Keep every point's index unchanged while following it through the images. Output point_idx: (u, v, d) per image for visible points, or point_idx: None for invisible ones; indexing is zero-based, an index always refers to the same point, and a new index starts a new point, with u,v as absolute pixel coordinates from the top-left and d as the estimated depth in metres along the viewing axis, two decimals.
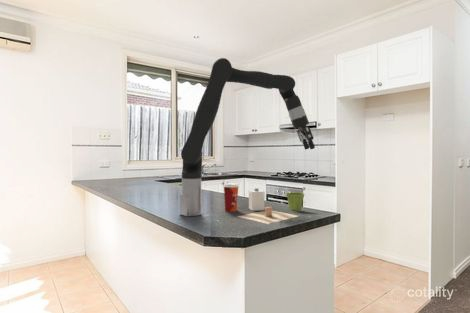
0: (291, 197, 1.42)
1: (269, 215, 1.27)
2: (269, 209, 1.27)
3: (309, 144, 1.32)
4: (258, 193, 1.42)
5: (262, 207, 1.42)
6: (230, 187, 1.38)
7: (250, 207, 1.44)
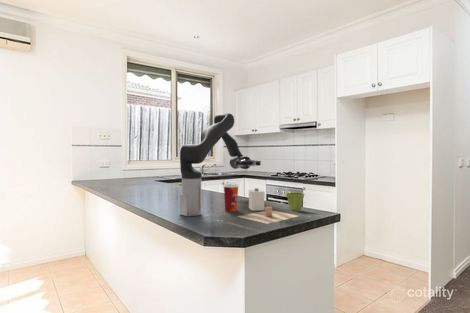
0: (291, 197, 1.42)
1: (269, 215, 1.27)
2: (269, 209, 1.27)
3: (257, 161, 1.59)
4: (258, 193, 1.42)
5: (262, 207, 1.42)
6: (230, 187, 1.38)
7: (250, 207, 1.44)
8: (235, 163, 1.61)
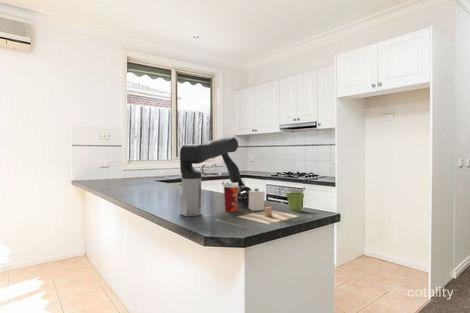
0: (291, 197, 1.42)
1: (269, 215, 1.27)
2: (269, 209, 1.27)
3: None
4: (258, 193, 1.42)
5: (262, 207, 1.42)
6: (230, 187, 1.38)
7: (250, 207, 1.44)
8: None
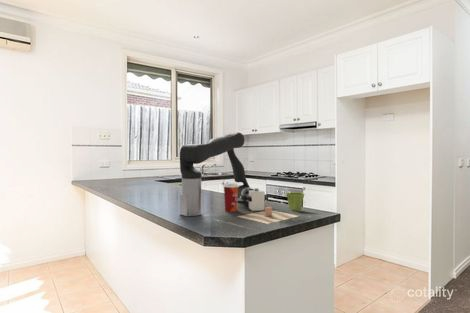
0: (291, 197, 1.42)
1: (269, 215, 1.27)
2: (269, 209, 1.27)
3: None
4: (258, 193, 1.42)
5: (262, 207, 1.42)
6: (230, 187, 1.38)
7: (250, 207, 1.44)
8: (241, 198, 1.48)
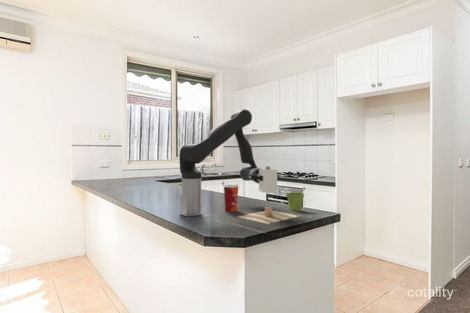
0: (291, 197, 1.42)
1: (269, 215, 1.27)
2: (269, 209, 1.27)
3: None
4: (270, 171, 1.26)
5: (274, 187, 1.27)
6: (230, 187, 1.38)
7: (261, 187, 1.29)
8: (251, 177, 1.33)
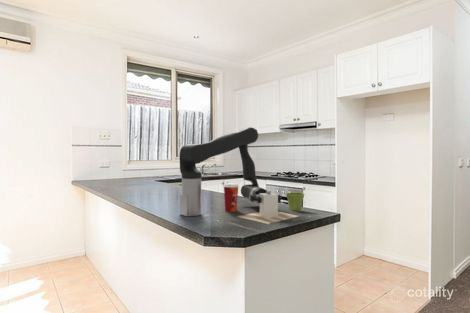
0: (291, 197, 1.42)
1: None
2: None
3: None
4: (271, 196, 1.25)
5: (275, 212, 1.26)
6: (230, 187, 1.38)
7: (261, 212, 1.28)
8: (250, 198, 1.32)
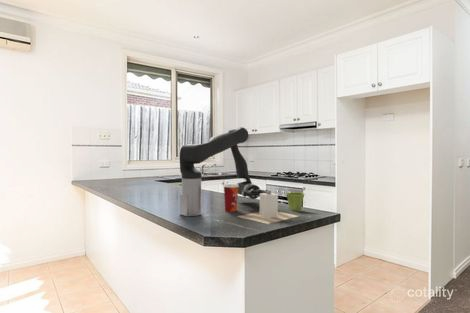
0: (291, 197, 1.42)
1: None
2: None
3: None
4: (271, 196, 1.25)
5: (275, 212, 1.26)
6: (230, 187, 1.38)
7: (261, 212, 1.28)
8: (243, 193, 1.45)
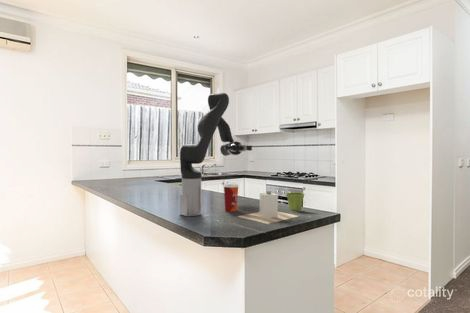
0: (291, 197, 1.42)
1: None
2: None
3: (248, 146, 1.49)
4: (271, 196, 1.25)
5: (275, 212, 1.26)
6: (230, 187, 1.38)
7: (261, 212, 1.28)
8: (225, 148, 1.52)
